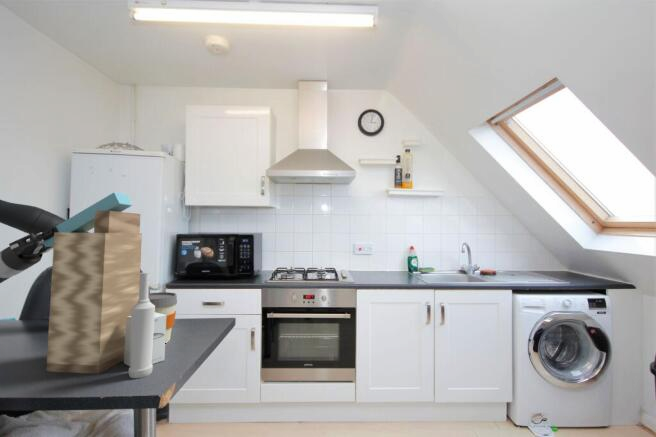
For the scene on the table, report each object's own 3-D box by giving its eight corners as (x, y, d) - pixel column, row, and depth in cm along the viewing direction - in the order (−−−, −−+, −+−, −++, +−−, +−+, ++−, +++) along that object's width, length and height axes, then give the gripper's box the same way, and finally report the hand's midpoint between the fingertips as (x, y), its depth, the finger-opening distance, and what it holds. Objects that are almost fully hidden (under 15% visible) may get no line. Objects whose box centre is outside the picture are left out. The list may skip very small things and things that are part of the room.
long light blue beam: (39, 246, 87) (42, 192, 88) (56, 246, 92) (59, 194, 93) (117, 248, 85) (120, 192, 86) (130, 247, 90) (132, 194, 91)
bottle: (135, 370, 81) (139, 271, 83) (156, 369, 82) (160, 271, 83) (123, 379, 76) (128, 274, 78) (146, 378, 77) (150, 274, 78)
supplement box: (137, 370, 81) (139, 320, 82) (123, 363, 85) (125, 316, 86) (165, 360, 87) (167, 314, 88) (150, 355, 91) (152, 310, 92)
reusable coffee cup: (182, 342, 102) (183, 295, 103) (138, 353, 93) (140, 301, 94) (167, 334, 111) (168, 290, 112) (125, 342, 102) (127, 295, 102)
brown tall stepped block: (46, 371, 80) (55, 210, 82) (91, 351, 94) (98, 214, 96) (98, 373, 79) (106, 210, 81) (136, 353, 93) (142, 214, 95)
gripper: (-20, 248, 83) (34, 216, 82) (35, 247, 97) (81, 219, 97) (-8, 274, 82) (46, 241, 82) (45, 268, 97) (92, 241, 96)
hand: (65, 230), depth 89 cm, fingers closed on long light blue beam, 5 cm apart
